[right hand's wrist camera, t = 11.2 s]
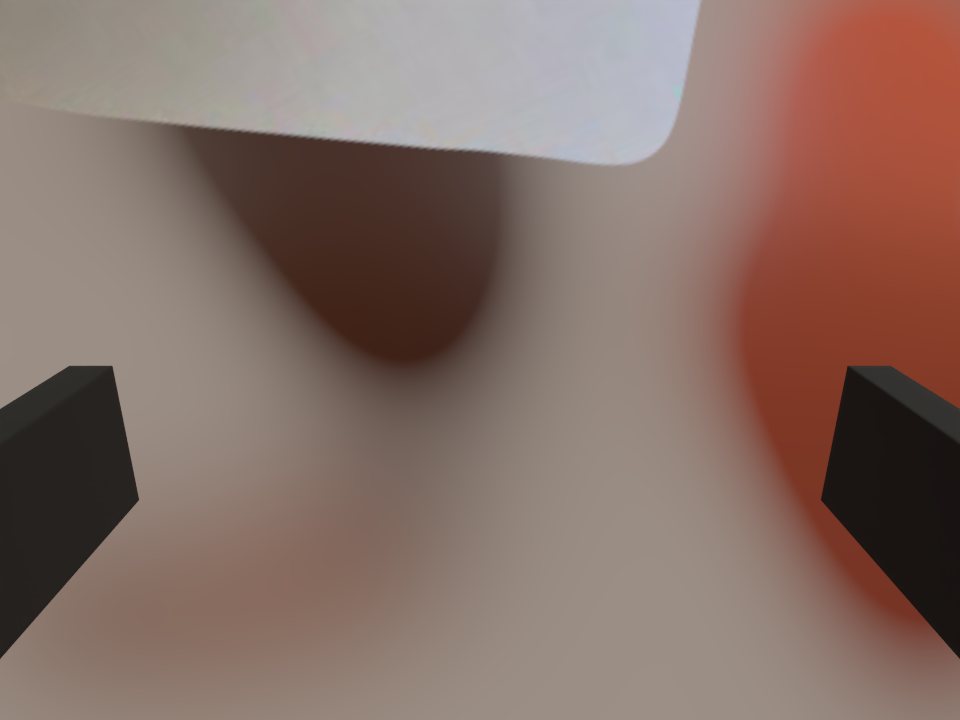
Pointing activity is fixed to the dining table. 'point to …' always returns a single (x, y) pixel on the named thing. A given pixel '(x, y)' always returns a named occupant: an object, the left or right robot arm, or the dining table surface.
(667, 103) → the dining table surface
